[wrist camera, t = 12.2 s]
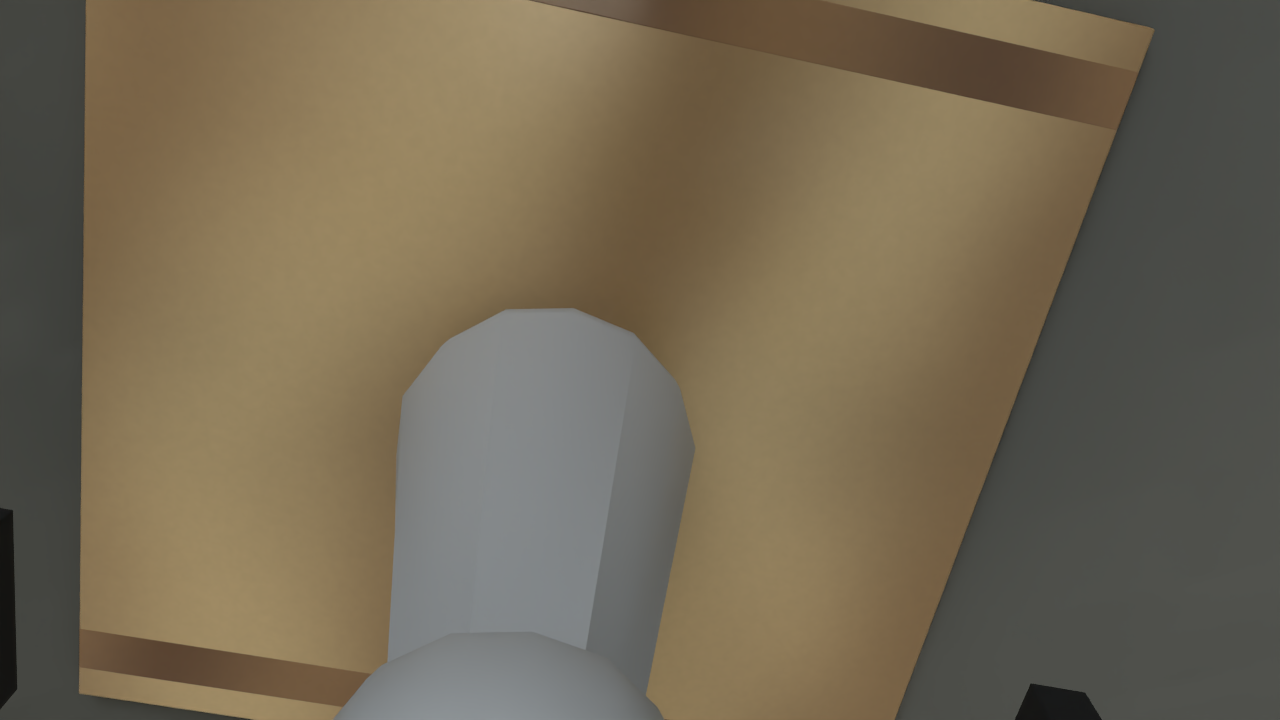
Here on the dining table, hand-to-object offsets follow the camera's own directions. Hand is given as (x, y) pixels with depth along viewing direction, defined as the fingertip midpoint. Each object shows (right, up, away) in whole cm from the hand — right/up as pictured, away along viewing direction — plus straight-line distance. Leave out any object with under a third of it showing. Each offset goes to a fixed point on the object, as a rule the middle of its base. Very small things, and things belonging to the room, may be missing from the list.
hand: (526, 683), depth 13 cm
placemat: (0, +3, +9) cm, 10 cm away
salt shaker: (0, +3, +9) cm, 10 cm away
